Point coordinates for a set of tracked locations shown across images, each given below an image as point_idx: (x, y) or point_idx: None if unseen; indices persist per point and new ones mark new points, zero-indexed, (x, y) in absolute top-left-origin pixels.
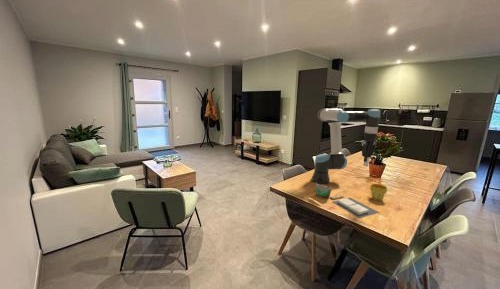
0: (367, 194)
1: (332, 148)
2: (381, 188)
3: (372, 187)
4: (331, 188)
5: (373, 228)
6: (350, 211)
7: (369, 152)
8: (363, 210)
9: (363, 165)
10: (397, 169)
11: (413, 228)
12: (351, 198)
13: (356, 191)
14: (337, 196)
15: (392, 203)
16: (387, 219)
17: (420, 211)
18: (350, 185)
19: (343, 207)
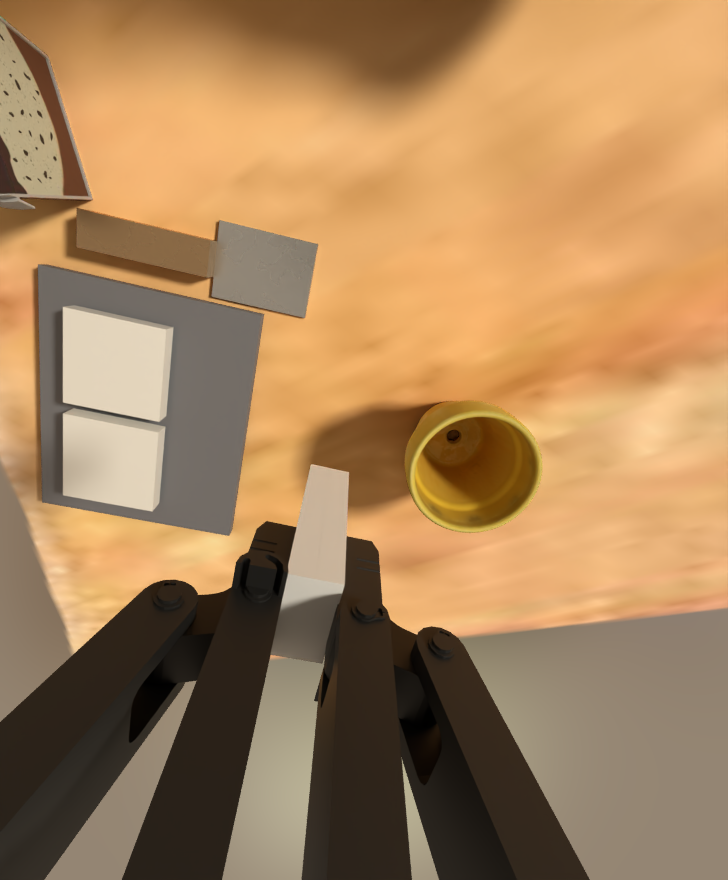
0: (476, 354)
1: None
2: (521, 465)
3: (414, 446)
4: (14, 204)
5: (55, 570)
6: (60, 432)
7: (313, 782)
8: (108, 498)
9: (310, 469)
10: None
11: None
12: (253, 330)
13: (465, 264)
14: (146, 248)
15: None
16: (215, 574)
17: (475, 632)
18: (573, 140)
19: (60, 374)
